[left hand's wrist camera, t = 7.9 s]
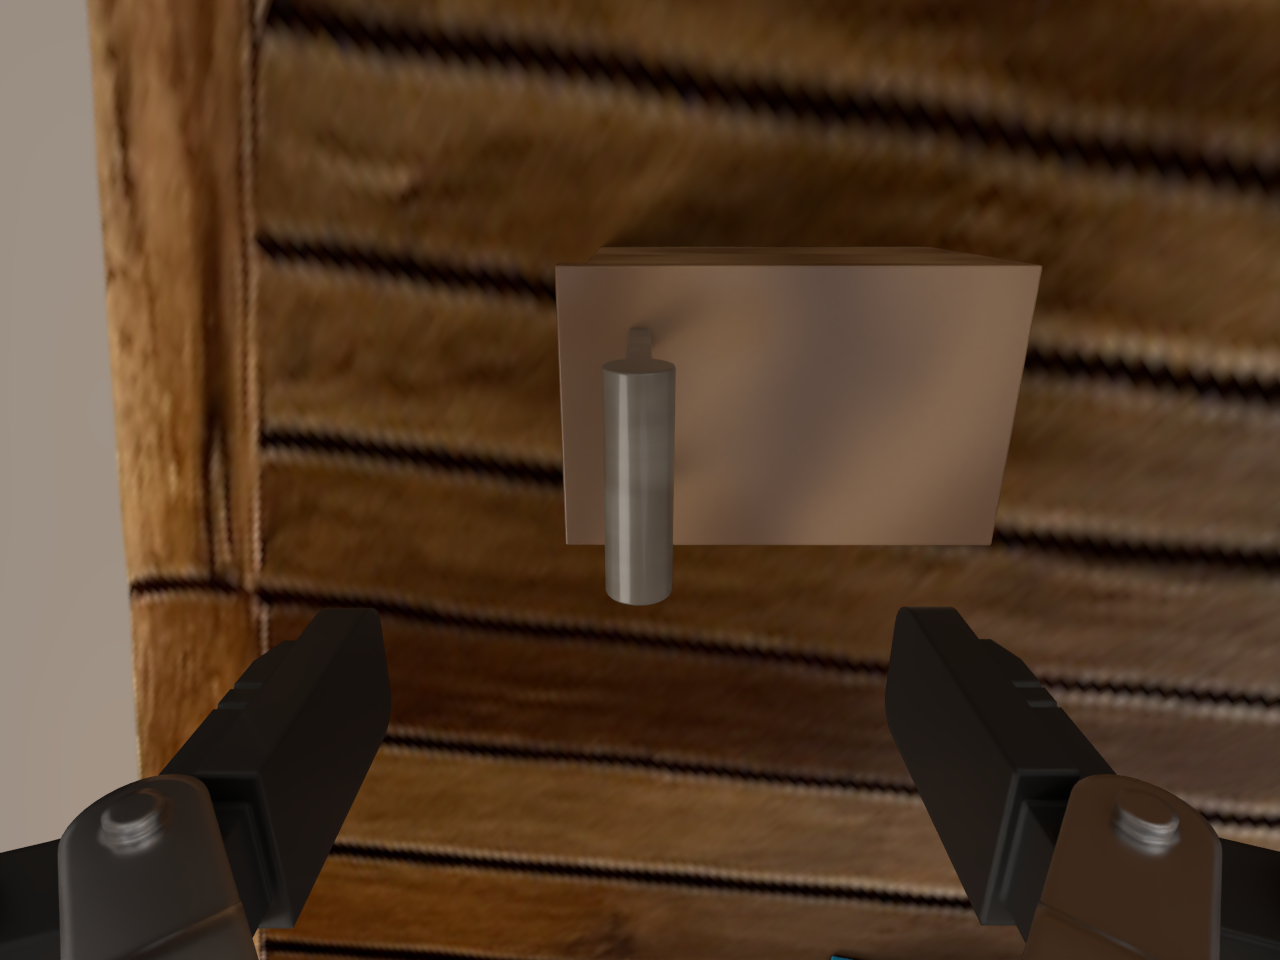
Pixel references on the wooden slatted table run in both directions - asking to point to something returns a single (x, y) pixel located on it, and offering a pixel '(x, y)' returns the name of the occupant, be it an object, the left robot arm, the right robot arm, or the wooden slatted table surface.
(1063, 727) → the left robot arm
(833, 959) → the model building
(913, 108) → the wooden slatted table surface
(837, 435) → the lid
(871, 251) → the chest
